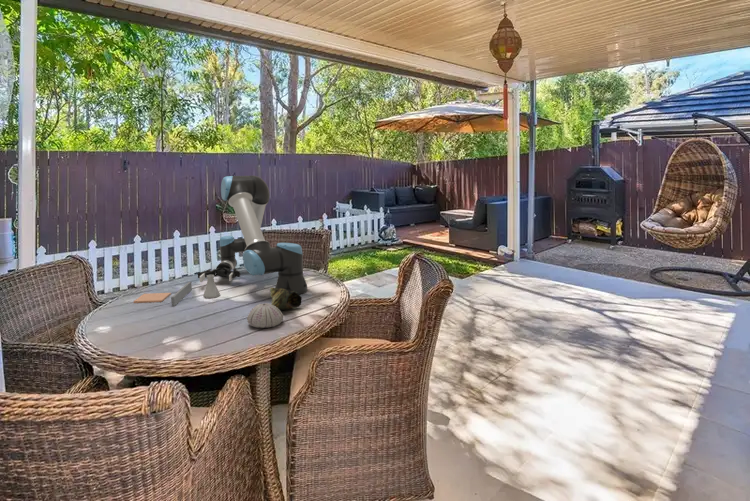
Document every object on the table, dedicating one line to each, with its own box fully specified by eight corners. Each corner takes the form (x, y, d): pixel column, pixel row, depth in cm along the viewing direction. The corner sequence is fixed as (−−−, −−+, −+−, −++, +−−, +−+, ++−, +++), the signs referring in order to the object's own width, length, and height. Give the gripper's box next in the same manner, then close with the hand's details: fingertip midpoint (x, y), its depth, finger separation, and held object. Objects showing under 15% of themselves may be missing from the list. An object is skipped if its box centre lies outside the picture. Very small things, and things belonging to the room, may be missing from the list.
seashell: (293, 315, 179) (292, 291, 177) (267, 314, 181) (266, 290, 179) (303, 307, 189) (302, 284, 187) (277, 305, 191) (276, 283, 189)
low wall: (189, 289, 217) (188, 281, 216) (191, 289, 217) (191, 281, 216) (171, 306, 192) (171, 297, 191) (174, 306, 192) (173, 297, 191)
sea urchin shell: (250, 319, 175) (249, 299, 174) (285, 317, 177) (284, 298, 175) (244, 331, 162) (243, 310, 161) (282, 329, 164) (281, 308, 162)
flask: (213, 293, 211) (212, 272, 209) (223, 295, 207) (221, 274, 205) (200, 297, 205) (198, 276, 203) (210, 299, 201) (208, 278, 199)
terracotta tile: (144, 295, 208) (144, 293, 208) (171, 294, 210) (170, 292, 209) (133, 303, 196) (133, 301, 196) (162, 301, 198) (161, 300, 198)
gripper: (249, 274, 237) (242, 285, 216) (200, 276, 234) (188, 287, 213) (248, 261, 235) (241, 270, 214) (199, 262, 232) (187, 272, 212)
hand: (215, 278), depth 214 cm, fingers open, 13 cm apart
